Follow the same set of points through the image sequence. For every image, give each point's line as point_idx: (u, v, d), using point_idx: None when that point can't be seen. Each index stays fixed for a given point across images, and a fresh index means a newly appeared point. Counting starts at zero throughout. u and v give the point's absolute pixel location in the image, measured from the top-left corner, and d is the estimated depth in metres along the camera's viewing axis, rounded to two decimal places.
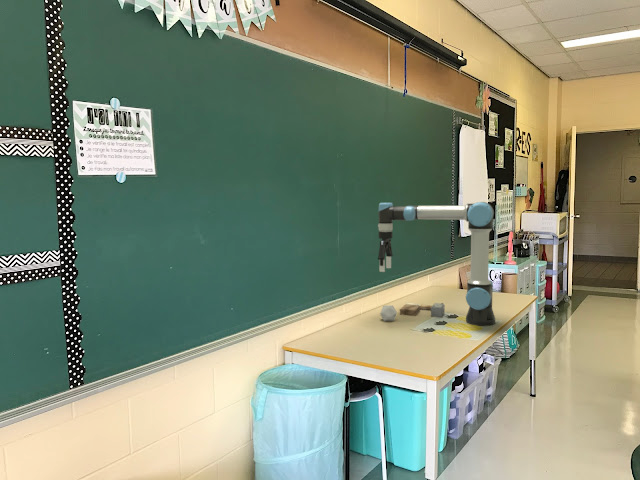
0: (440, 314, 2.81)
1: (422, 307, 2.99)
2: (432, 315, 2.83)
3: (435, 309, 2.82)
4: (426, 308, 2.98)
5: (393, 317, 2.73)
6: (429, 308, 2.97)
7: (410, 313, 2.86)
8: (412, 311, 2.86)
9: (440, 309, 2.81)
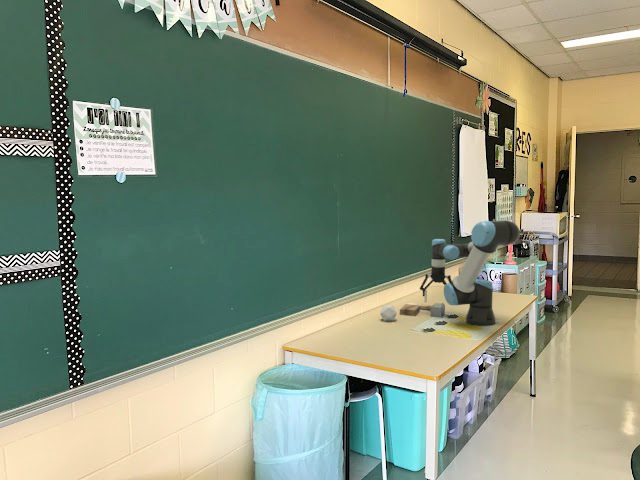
0: (439, 314, 2.81)
1: (422, 307, 3.00)
2: (432, 315, 2.83)
3: (434, 309, 2.82)
4: (426, 308, 2.98)
5: (393, 317, 2.73)
6: (428, 308, 2.98)
7: (410, 313, 2.86)
8: (412, 311, 2.86)
9: (439, 309, 2.81)
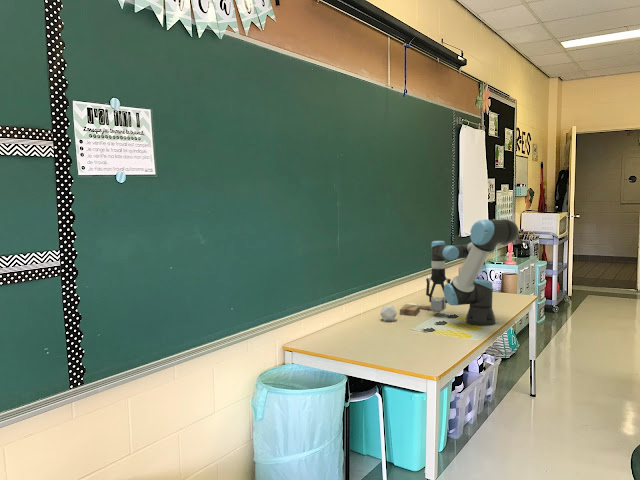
0: (440, 307, 2.80)
1: (422, 306, 3.01)
2: (432, 309, 2.82)
3: (435, 303, 2.81)
4: (425, 308, 2.99)
5: (393, 317, 2.73)
6: (428, 308, 2.98)
7: (410, 313, 2.86)
8: (412, 311, 2.86)
9: (440, 302, 2.80)
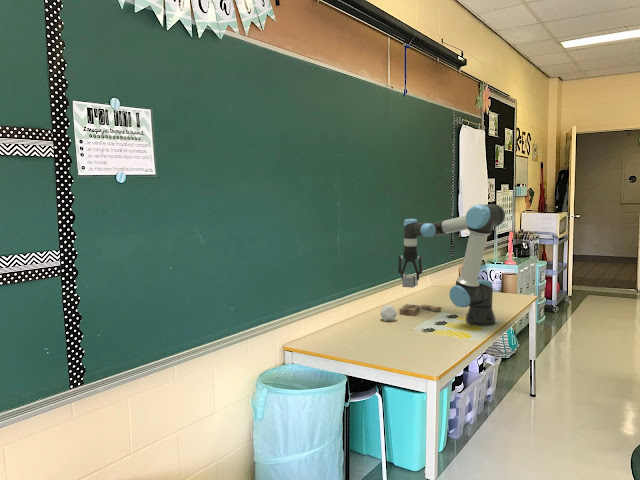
0: (411, 284, 2.86)
1: (422, 306, 3.01)
2: (404, 285, 2.88)
3: (406, 279, 2.87)
4: (425, 308, 2.99)
5: (393, 317, 2.73)
6: (428, 308, 2.98)
7: (410, 313, 2.86)
8: (412, 311, 2.86)
9: (411, 279, 2.86)
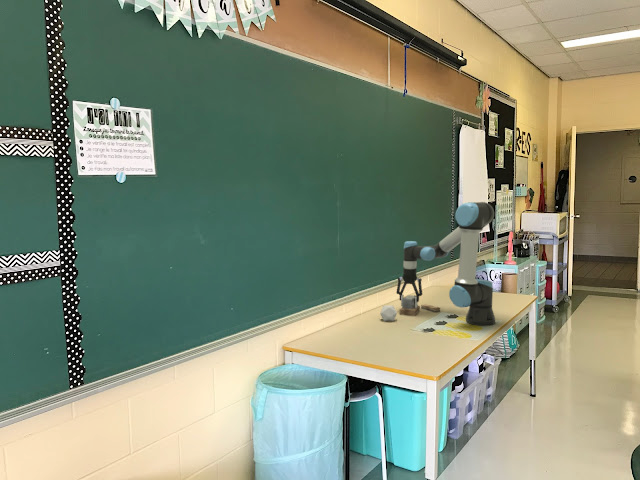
0: (411, 306, 2.87)
1: (422, 306, 3.02)
2: (403, 307, 2.89)
3: (406, 301, 2.88)
4: (425, 307, 3.00)
5: (393, 317, 2.73)
6: (427, 308, 2.98)
7: (410, 313, 2.86)
8: (412, 311, 2.86)
9: (411, 301, 2.87)
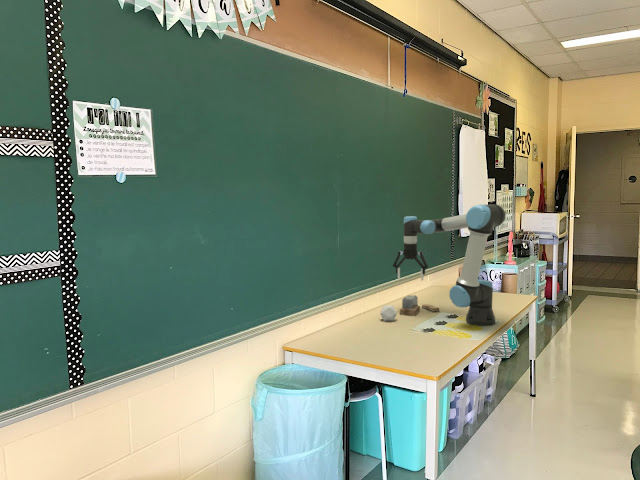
0: (411, 306, 2.87)
1: (423, 306, 3.02)
2: (403, 307, 2.89)
3: (406, 301, 2.88)
4: (425, 307, 3.00)
5: (393, 317, 2.73)
6: (427, 308, 2.98)
7: (410, 313, 2.86)
8: (412, 311, 2.86)
9: (411, 301, 2.87)
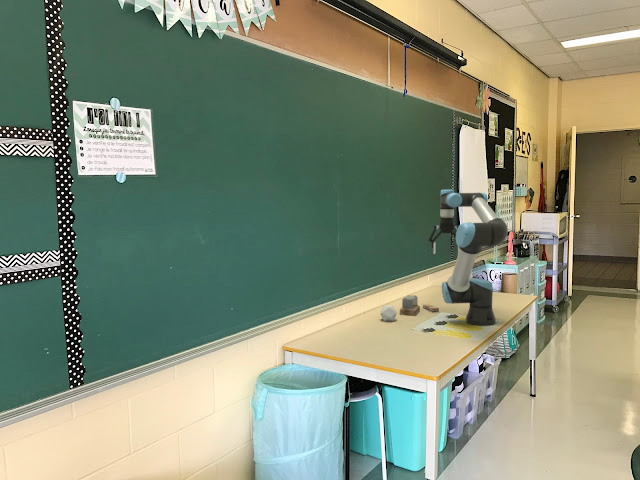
0: (411, 306, 2.87)
1: (423, 306, 3.03)
2: (403, 307, 2.89)
3: (406, 301, 2.88)
4: (425, 307, 3.00)
5: (393, 317, 2.73)
6: (427, 307, 2.99)
7: (410, 313, 2.86)
8: (412, 311, 2.86)
9: (411, 301, 2.87)
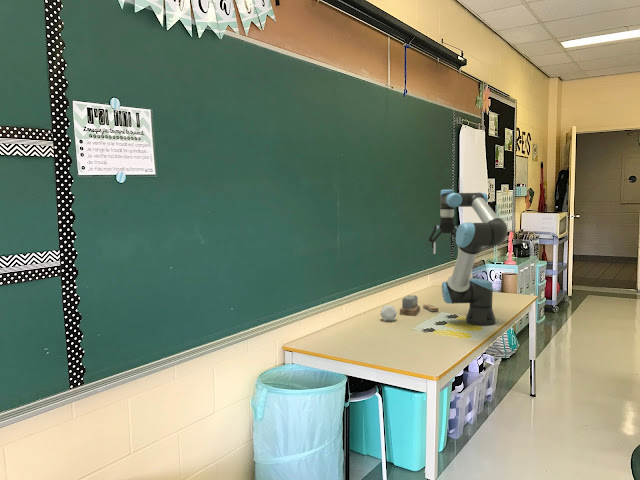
0: (411, 306, 2.87)
1: (424, 305, 3.03)
2: (403, 307, 2.89)
3: (406, 301, 2.88)
4: (426, 307, 3.01)
5: (393, 317, 2.73)
6: (427, 307, 2.99)
7: (410, 313, 2.86)
8: (412, 311, 2.86)
9: (411, 301, 2.87)
